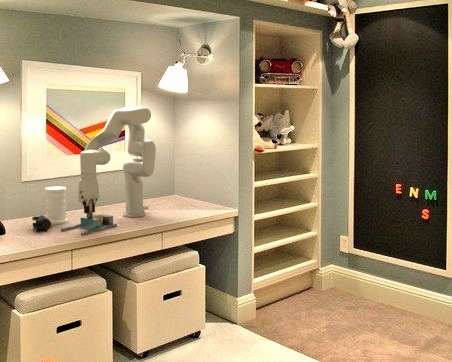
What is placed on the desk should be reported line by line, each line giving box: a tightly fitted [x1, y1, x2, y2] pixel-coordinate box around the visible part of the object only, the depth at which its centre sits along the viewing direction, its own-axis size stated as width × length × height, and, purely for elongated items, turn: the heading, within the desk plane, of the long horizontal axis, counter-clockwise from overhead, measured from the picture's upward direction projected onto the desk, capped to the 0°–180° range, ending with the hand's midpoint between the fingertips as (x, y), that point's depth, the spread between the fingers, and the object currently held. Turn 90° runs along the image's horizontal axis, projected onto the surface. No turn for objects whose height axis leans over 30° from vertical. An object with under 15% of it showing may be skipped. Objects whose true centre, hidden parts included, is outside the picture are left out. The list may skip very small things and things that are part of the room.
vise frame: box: [60, 213, 118, 236], centre depth 282 cm, size 23×16×5 cm
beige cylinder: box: [93, 213, 104, 228], centre depth 286 cm, size 5×5×6 cm
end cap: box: [31, 214, 52, 233], centre depth 278 cm, size 10×7×7 cm
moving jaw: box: [80, 199, 100, 230], centre depth 281 cm, size 3×10×14 cm, turn 57°
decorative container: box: [44, 185, 69, 225], centre depth 295 cm, size 12×12×18 cm
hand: (89, 212), depth 281 cm, fingers closed on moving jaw, 3 cm apart
